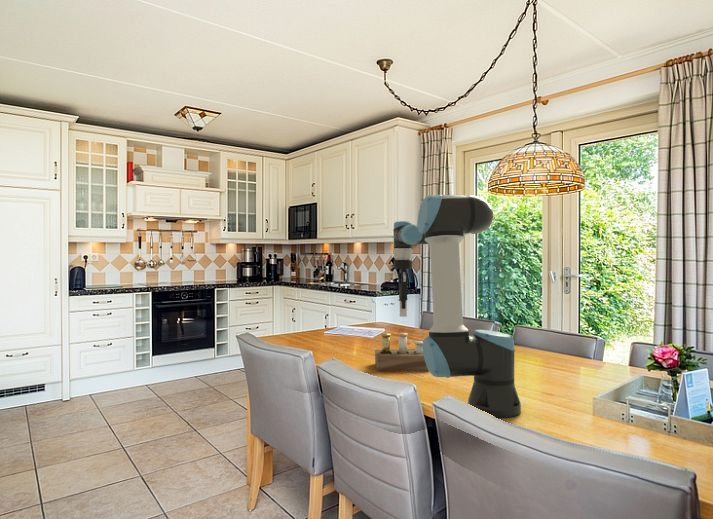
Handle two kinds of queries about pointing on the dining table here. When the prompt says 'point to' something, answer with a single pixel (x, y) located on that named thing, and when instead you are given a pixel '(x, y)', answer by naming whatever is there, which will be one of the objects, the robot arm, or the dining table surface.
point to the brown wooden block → (400, 361)
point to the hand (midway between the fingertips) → (403, 316)
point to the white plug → (402, 343)
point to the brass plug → (385, 343)
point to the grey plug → (419, 346)
